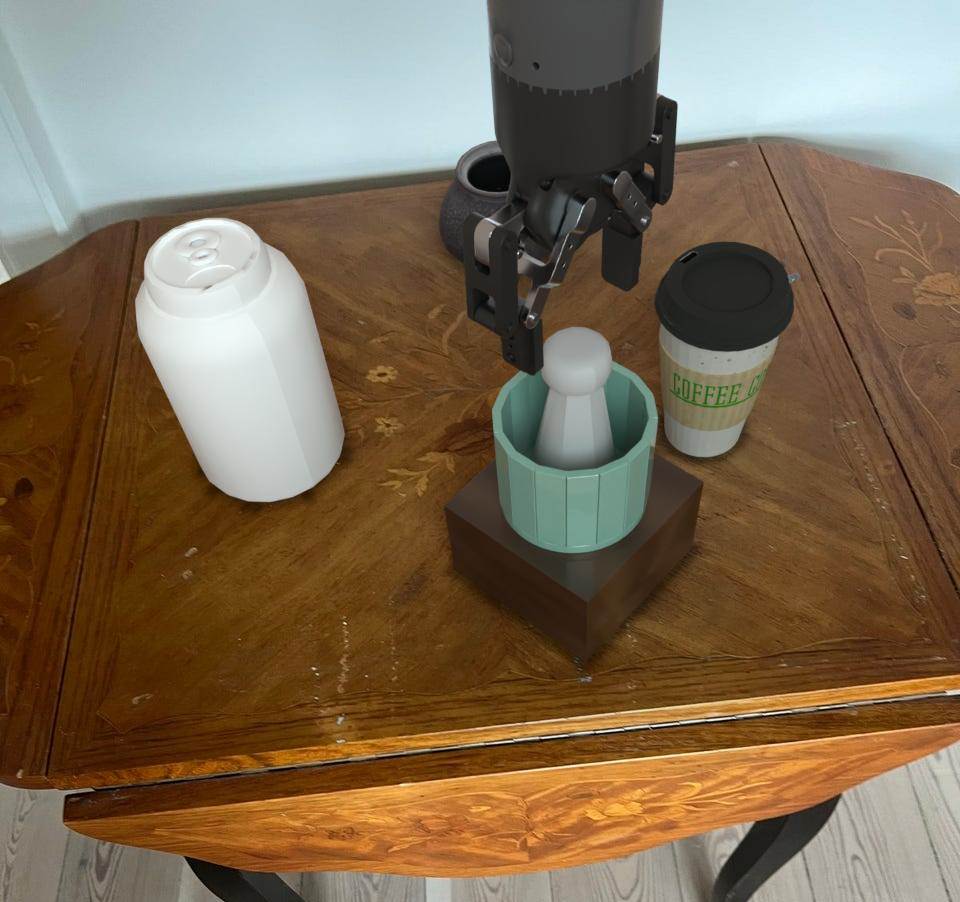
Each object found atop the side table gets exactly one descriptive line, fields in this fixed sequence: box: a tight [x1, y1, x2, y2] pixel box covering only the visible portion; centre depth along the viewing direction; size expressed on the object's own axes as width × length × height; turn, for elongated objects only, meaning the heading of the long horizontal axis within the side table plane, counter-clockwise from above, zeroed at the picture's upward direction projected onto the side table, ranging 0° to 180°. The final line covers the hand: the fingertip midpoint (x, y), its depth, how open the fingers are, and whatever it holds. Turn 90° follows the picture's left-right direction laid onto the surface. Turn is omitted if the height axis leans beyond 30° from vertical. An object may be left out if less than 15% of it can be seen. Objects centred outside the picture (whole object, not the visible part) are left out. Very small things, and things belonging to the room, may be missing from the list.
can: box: [134, 217, 346, 503], centre depth 77 cm, size 12×12×20 cm
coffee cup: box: [653, 241, 795, 458], centre depth 77 cm, size 10×10×15 cm
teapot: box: [438, 139, 552, 263], centre depth 92 cm, size 19×15×10 cm
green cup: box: [491, 360, 659, 553], centre depth 67 cm, size 10×10×8 cm
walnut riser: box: [443, 452, 705, 663], centre depth 74 cm, size 13×13×8 cm
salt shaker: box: [531, 326, 616, 471], centre depth 64 cm, size 6×6×13 cm
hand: (573, 323), depth 57 cm, fingers open, 8 cm apart
